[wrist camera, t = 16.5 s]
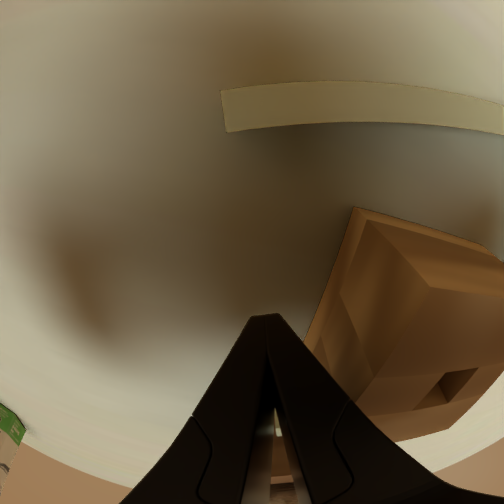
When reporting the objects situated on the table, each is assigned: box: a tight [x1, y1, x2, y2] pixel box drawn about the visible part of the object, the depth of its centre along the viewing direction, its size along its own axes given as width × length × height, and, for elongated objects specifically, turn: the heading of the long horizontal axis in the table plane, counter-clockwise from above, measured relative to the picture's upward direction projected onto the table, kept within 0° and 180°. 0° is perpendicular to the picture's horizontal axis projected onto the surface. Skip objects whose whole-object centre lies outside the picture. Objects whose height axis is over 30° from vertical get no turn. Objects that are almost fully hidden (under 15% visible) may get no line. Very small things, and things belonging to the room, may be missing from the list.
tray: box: [220, 81, 504, 436], centre depth 7 cm, size 12×12×2 cm
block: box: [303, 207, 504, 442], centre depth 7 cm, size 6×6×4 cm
